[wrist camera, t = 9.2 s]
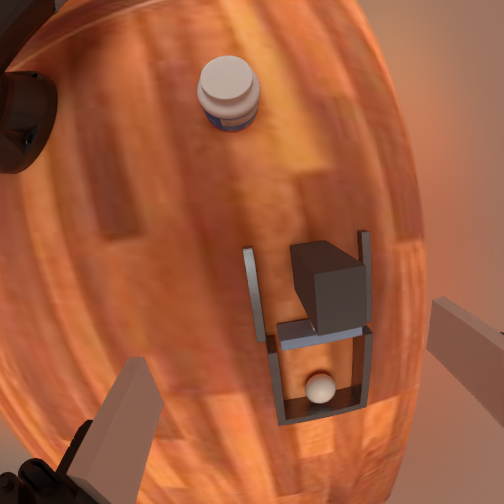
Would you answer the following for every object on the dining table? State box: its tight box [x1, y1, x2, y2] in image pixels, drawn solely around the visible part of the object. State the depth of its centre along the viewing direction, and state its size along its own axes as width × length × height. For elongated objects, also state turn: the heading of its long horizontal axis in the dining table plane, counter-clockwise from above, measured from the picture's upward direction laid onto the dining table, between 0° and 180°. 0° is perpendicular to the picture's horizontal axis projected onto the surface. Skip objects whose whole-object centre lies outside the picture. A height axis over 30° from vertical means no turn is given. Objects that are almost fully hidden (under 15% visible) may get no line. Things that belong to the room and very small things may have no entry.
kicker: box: [277, 240, 367, 351], centre depth 26 cm, size 10×9×11 cm
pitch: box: [243, 230, 373, 426], centre depth 31 cm, size 23×14×4 cm, turn 8°
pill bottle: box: [197, 56, 260, 132], centre depth 22 cm, size 6×5×10 cm
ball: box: [305, 374, 336, 403], centre depth 32 cm, size 4×4×4 cm
